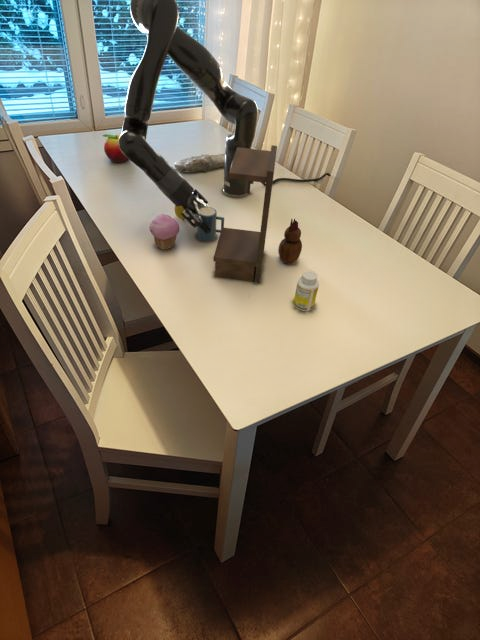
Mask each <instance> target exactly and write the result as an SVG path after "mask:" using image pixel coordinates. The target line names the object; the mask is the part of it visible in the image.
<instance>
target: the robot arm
mask: <svg viewBox="0 0 480 640" xmlns="http://www.w3.org/2000/svg"><path fill="white" fill-rule="evenodd" d="M129 10H130V16H131V18H132V21H133V23H134V24H135V26H136V27H137V29H138V30H139V31H140V32H141V33H142V34H144V35H145V36H146V37H147V41H146V46H145V49H144V51H143V52H144V53H143V55H142V57H141V60H140V61H139V63H138V65H137V67H136V68H135V70H134V72H133V74H132V75H131V78H130V81H129V85H128V89H127V94H126V100H125V105H124V106H125V107H124V119H123V124H122V130H121V133H120V135H121V136H120V138H119V147H120V150H121V151H122V153H123V154H124V155H125V156H126V157H127V158H128V160H129V161H130V162H132V163H133V164H134V165H135V166H136V167H138V169H140V170H141V171H142V172H143V173H144V174H145V175H146V176H147V177H148V179H150V180H151V181H152V182H153V183H154V185H156V187H157V188H158V189H159V190H160V192H161V193H162V194H163V195H164V196H165V197H166V198H167V199H168V200H169V201H170V202H171V203H172V204H173V205H174V207H175V206H182V207H183V208H184V211H183V212H182V213H181V215H182V216H183V217H184V218H185V220H186V221H187V223H188V224H189V225H191V227H192V228H193V229H197V226H198V227H200V228H201V229H202V230H203V231H204V232H205V233H206V234H208V233H209V232H211V228H210V227H209V226H208V225H207V224H206V223H205V222H204V221H203V220H202V218H201V212H200V208H201V207H210V206H209V205H208V204H209V201H208V200H207V198H205V196H204V195H202V194H201V193H200V192H199V190H197V189H196V188H195V189H194V187H193V186H192V185H191V184H190V182H188V180H186V178H185V177H184V176H182V174H181V173H180V171H178V170H177V169H176V168H175V167H173V166H172V165H171V164H170V163H169V162H168V161H167V160H166V158H165V157H163V155H161V154H160V153H158V152H157V151H155V149H154V148H153V147H152V146H151V145H150V144H149V143H148V142H147V135H148V129H149V122H150V119H151V116H152V111H153V107H154V101H155V96H156V93H157V87H158V83H159V81H160V80H159V79H160V76H161V74H162V70H163V67H164V64H165V62H166V59H167V56H168V57H169V58H170V60H171V61H172V62H173V63H174V64H175V66H177V68H178V69H179V70H180V71H181V72H182V73H183V75H185V77H186V78H187V79H188V80H189V81H190V82H191V83H192V84H193V85H194V86H195V87H196V88H197V89H198V90H199V91H200V93H202V94H203V95H204V96H206V97H207V99H209V100H210V101H211V102H212V103H213V105H214V106H215V107H216V109H217V111H218V112H219V113H220V114H221V116H222V117H223V119H224V120H225V121H226V122H227V123H229V124H232V125H233V126H234V127H235V128H234V132H233V133H230V134H228V135H227V136H226V137H225V143H224V144H225V145H224V146H225V147H224V154H225V165H224V166H223V186H222V187H223V188H222V192H223V194H225V195H226V196H228V197H230V198H231V197H232V198H243V197H245V196H247V195H250V194H251V186H252V185H254V181H246V180H237V179H229V171H230V168H231V165H232V162H233V159H234V155H235V152H236V149H237V147H239V148H248V149H253V142H254V140H255V137H256V131H257V124H258V116H259V108H258V105H257V103H256V101H255V100H253V99H252V98H250V97H247V96H245V95H243V94H240V93H238V92H236V91H235V90H234V89H233V88H232V87H231V86H230V85H229V84H228V83H227V82H226V80H225V78H224V73H223V70H222V67H221V64H219V61H218V60H217V59H216V58H215V56H213V54H212V53H211V52H210V51H209V49H207V48H206V46H205V45H203V44H202V43H200V41H198V40H196V39H195V38H194V37H192V36H191V35H190V34H188V33H187V32H185V31H184V30H183V29H181V28H180V27H179V26H178V22H179V7H178V4H177V2H176V0H130V4H129ZM325 177H331V174H330V172H325V173H324V174H322V175H321V176H319V177H316V178H309V179H307V178H306V179H305V178H304V179H302V178H301V179H300V178H299V179H298V178H290V177H278V178H275V179H273V184H275V183H276V182H280V181H286V182H287V181H288V182H295V183H310V182H318V181H321V180H322V179H324V178H325ZM260 183H261V185H263V186H264V187H266V183H263V182H260ZM197 218H198V219H199V220H198V219H197Z"/></svg>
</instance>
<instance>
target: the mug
mask: <svg viewBox="0 0 480 640" xmlns="http://www.w3.org/2000/svg"><path fill="white" fill-rule="evenodd" d="M200 212H201V218H202V220H203V221H204V222H205V223H206V224H207V225H208V226H209V227H210V228H211V232H209V233H208V234H206V233H205V232H204V231H203V230H202V229H201V228H200V227H198V226H197V227H196V238H197V239H198V240H199V241H200V242H205V243H209V242H213V241H215V240H216V238H217V233H219V234H220V232H221V229H222V227H224V228H225V217H224V216H217V215H218V212H217V209H216V208H214V207H212V206H209V207H201V208H200ZM197 219H198V218H197ZM198 220H199V219H198ZM217 221H220V222H221V223H220V229H217Z"/></svg>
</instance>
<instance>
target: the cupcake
mask: <svg viewBox="0 0 480 640" xmlns="http://www.w3.org/2000/svg"><path fill="white" fill-rule="evenodd" d="M148 230H149V232H150V234H151V235H152V236H153V240H154V244H155V246H156V247H157V248H160V249H162V250H169V249H171V248H173V247H174V246H175V243H176V239H177V236H178V234H179V233H180V230H181V229H180V224H179V222H178V220H177V219H175V218H174V217H172V216H171V215H169V214H165V213H164V214H163V213H162V214H159V215H157V216H155V217H154V218H153V219H152V220H151V222H149V225H148Z"/></svg>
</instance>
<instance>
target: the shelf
mask: <svg viewBox="0 0 480 640" xmlns="http://www.w3.org/2000/svg"><path fill="white" fill-rule="evenodd" d="M277 153H278V145H270V150H267V149H266V150H264V149H256V148H251V149H248V148H239V147H237V149H236V152H235V155H234V159H233V162H232V165H231V168H230V171H229V179H237V180H246V181H254V182H256V183H261V182H263V183H266V186H265V189H264V196H263V197H264V198H263V205H262V214H261V224H260V231H256V230H248V229H240V228H232V227H231V228H230V227H225V226H224V227H222V229H221V228H220V230H221V232H220V233H219V237H218V239H217V244H216V247H215V250H214V254H213V257H212V259H213V260H212V262H215V263H214V277H215V278H224V279H233V280H240V281H248V282H254V283H257V284H260V283H261V278H262V277H261V276H262V269H263V261H264V254H265V247H266V239H267V238H266V237H267V231H268V230H267V229H268V222H269V214H270V206H271V198H272V193H273V192H272V191H273V184H274V183H273V181H274V175H275V168H276V160H277V159H276V158H277ZM254 182H253V183H254Z"/></svg>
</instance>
